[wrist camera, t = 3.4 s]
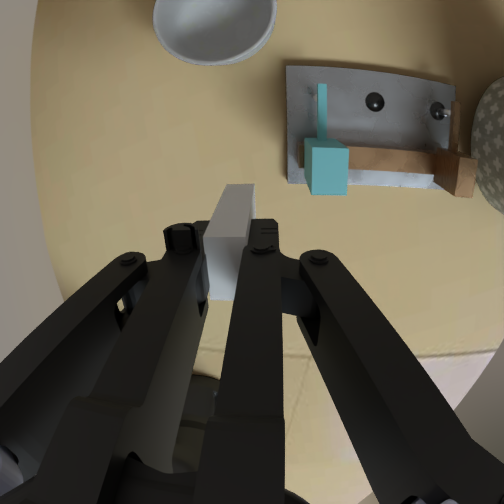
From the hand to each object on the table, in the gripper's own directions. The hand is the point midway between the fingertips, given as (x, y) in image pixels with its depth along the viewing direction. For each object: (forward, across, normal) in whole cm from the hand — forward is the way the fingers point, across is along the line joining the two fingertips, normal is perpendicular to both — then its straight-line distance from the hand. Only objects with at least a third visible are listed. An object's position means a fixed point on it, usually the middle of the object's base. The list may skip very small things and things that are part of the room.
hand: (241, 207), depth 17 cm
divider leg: (+17, +6, +3) cm, 18 cm away
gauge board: (+19, +13, +3) cm, 23 cm away
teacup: (+19, -4, +16) cm, 25 cm away
